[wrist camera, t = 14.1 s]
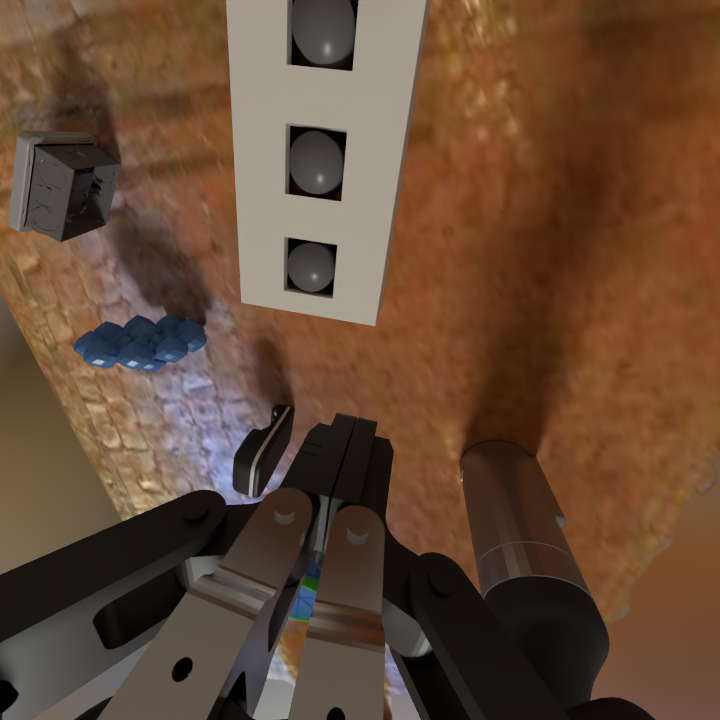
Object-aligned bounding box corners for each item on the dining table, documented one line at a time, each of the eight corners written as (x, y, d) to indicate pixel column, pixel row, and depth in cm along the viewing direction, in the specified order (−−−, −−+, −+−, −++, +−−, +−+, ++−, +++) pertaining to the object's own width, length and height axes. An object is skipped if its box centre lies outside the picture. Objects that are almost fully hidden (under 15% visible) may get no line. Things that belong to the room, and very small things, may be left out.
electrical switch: (92, 131, 33) (-6, 114, 25) (139, 165, 34) (61, 159, 26) (75, 210, 37) (-12, 217, 29) (118, 238, 38) (45, 252, 30)
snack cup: (267, 527, 58) (239, 586, 49) (301, 504, 53) (278, 565, 44) (328, 573, 61) (313, 636, 52) (365, 555, 56) (356, 620, 47)
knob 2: (354, 145, 29) (343, 134, 24) (349, 198, 31) (338, 197, 26) (308, 140, 29) (289, 127, 25) (306, 192, 31) (288, 190, 27)
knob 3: (345, 242, 33) (334, 247, 28) (341, 284, 35) (330, 295, 30) (304, 236, 33) (287, 240, 29) (303, 277, 35) (286, 287, 31)
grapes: (147, 345, 44) (61, 389, 33) (137, 298, 41) (38, 330, 30) (224, 359, 43) (161, 409, 32) (220, 312, 40) (148, 350, 29)
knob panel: (432, -10, 24) (437, -71, 19) (381, 308, 36) (375, 326, 31) (262, -23, 26) (221, -84, 20) (266, 289, 37) (241, 302, 32)
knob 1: (366, 19, 25) (356, -22, 20) (360, 89, 27) (349, 65, 22) (313, 14, 25) (292, -27, 21) (311, 84, 27) (290, 59, 23)
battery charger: (270, 398, 44) (227, 455, 34) (296, 406, 44) (260, 464, 34) (266, 435, 48) (226, 496, 37) (290, 442, 47) (256, 505, 37)
